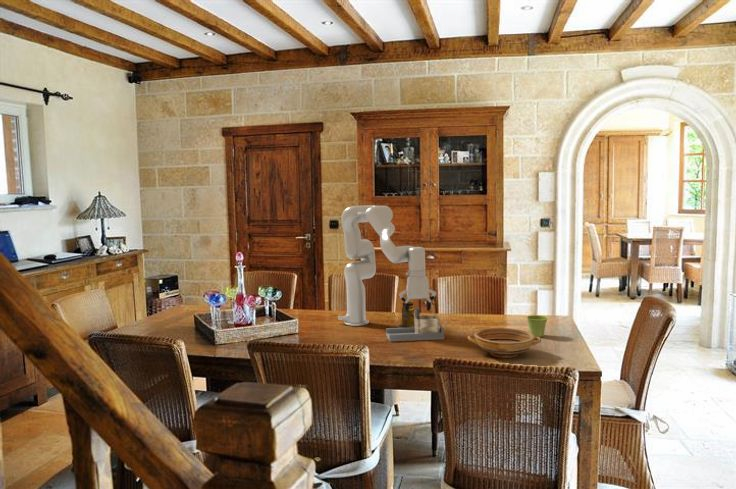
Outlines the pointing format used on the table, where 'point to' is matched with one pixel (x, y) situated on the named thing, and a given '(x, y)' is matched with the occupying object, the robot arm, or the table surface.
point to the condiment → (407, 316)
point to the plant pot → (537, 325)
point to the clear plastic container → (426, 323)
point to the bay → (412, 334)
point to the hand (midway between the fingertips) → (417, 310)
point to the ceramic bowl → (504, 341)
